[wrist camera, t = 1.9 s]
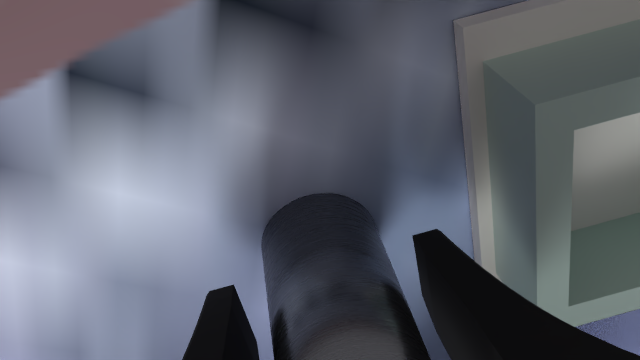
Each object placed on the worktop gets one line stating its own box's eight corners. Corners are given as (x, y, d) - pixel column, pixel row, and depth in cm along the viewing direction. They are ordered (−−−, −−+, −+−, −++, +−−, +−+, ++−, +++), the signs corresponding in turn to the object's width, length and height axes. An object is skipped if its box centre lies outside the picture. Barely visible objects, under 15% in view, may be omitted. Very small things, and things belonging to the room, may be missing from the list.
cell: (365, 179, 15) (478, 435, 8) (384, 269, 17) (489, 538, 10) (247, 212, 15) (271, 493, 8) (278, 299, 16) (317, 587, 10)
